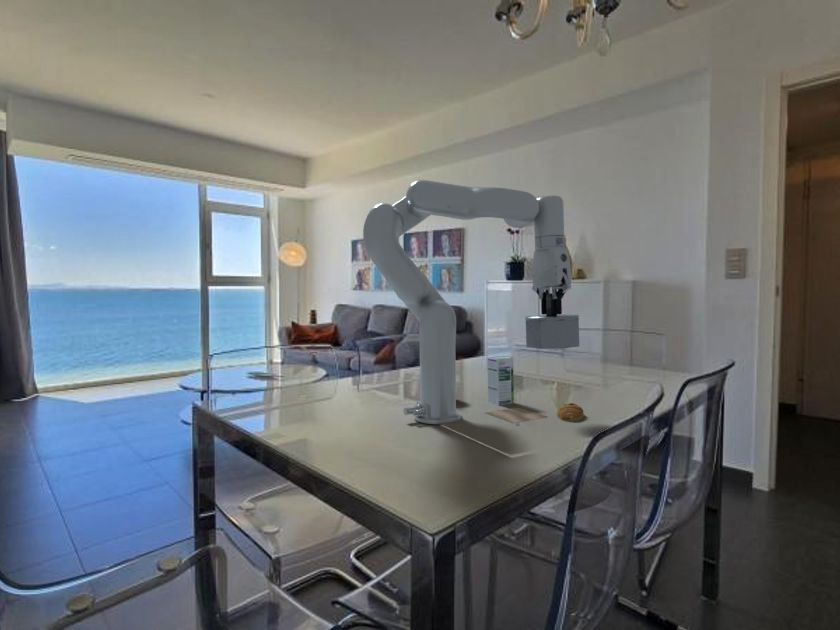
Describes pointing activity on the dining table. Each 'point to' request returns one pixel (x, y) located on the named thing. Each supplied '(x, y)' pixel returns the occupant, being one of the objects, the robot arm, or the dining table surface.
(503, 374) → the syrup box
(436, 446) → the dining table surface
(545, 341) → the grey round part
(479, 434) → the dining table surface
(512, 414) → the wooden board
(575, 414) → the pastry
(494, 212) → the robot arm
